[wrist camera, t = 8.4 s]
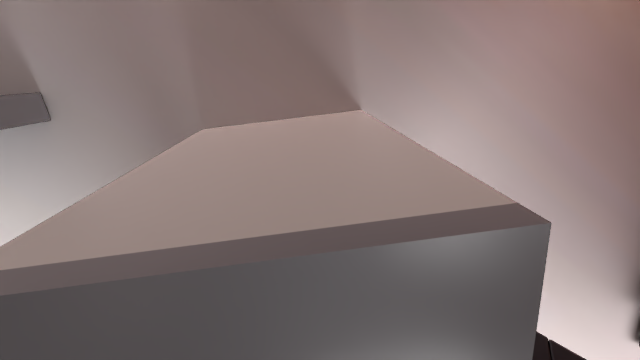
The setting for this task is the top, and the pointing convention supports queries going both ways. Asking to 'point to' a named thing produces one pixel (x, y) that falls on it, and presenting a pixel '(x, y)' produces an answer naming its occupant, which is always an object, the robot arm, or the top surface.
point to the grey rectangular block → (280, 255)
